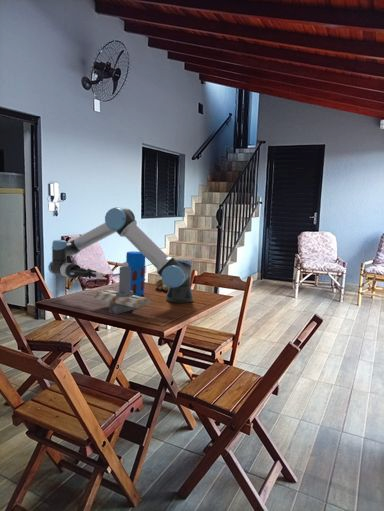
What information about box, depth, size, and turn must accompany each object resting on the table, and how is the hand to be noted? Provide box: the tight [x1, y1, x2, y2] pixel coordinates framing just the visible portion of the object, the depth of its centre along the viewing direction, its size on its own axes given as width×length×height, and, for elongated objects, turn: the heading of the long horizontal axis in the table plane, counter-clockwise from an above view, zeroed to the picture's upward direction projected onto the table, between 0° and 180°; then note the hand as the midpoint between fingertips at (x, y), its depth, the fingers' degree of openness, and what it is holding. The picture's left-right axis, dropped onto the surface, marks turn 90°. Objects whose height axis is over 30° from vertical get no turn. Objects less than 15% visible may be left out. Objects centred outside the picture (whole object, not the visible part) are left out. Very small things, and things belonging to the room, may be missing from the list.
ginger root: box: [154, 278, 169, 291], centre depth 236 cm, size 16×16×8 cm
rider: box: [116, 261, 133, 297], centre depth 179 cm, size 4×8×18 cm, turn 147°
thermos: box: [125, 250, 146, 297], centre depth 216 cm, size 11×11×25 cm
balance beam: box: [93, 289, 151, 315], centre depth 181 cm, size 28×12×8 cm, turn 57°
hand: (101, 276), depth 187 cm, fingers closed
